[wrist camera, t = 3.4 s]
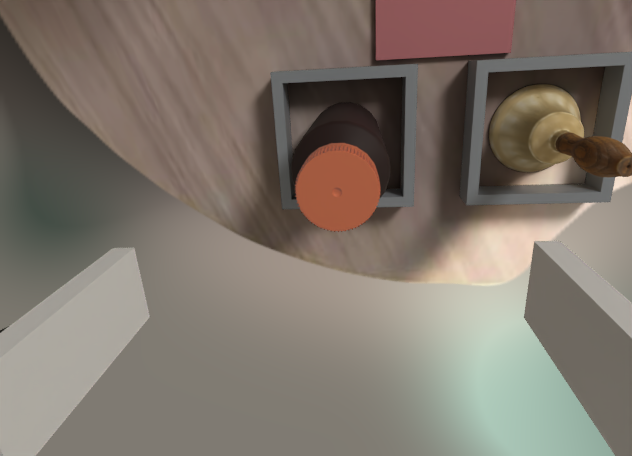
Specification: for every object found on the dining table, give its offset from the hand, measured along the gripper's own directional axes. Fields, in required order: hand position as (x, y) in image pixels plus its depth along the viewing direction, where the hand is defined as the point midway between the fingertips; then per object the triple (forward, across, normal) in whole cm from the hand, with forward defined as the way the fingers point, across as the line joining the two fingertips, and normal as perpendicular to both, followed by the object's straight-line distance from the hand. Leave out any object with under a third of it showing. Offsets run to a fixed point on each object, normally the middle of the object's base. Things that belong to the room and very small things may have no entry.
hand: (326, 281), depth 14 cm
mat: (+31, +9, +13) cm, 35 cm away
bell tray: (+31, +18, 0) cm, 36 cm away
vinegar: (+31, 0, 0) cm, 31 cm away
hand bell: (+31, +18, 0) cm, 36 cm away
